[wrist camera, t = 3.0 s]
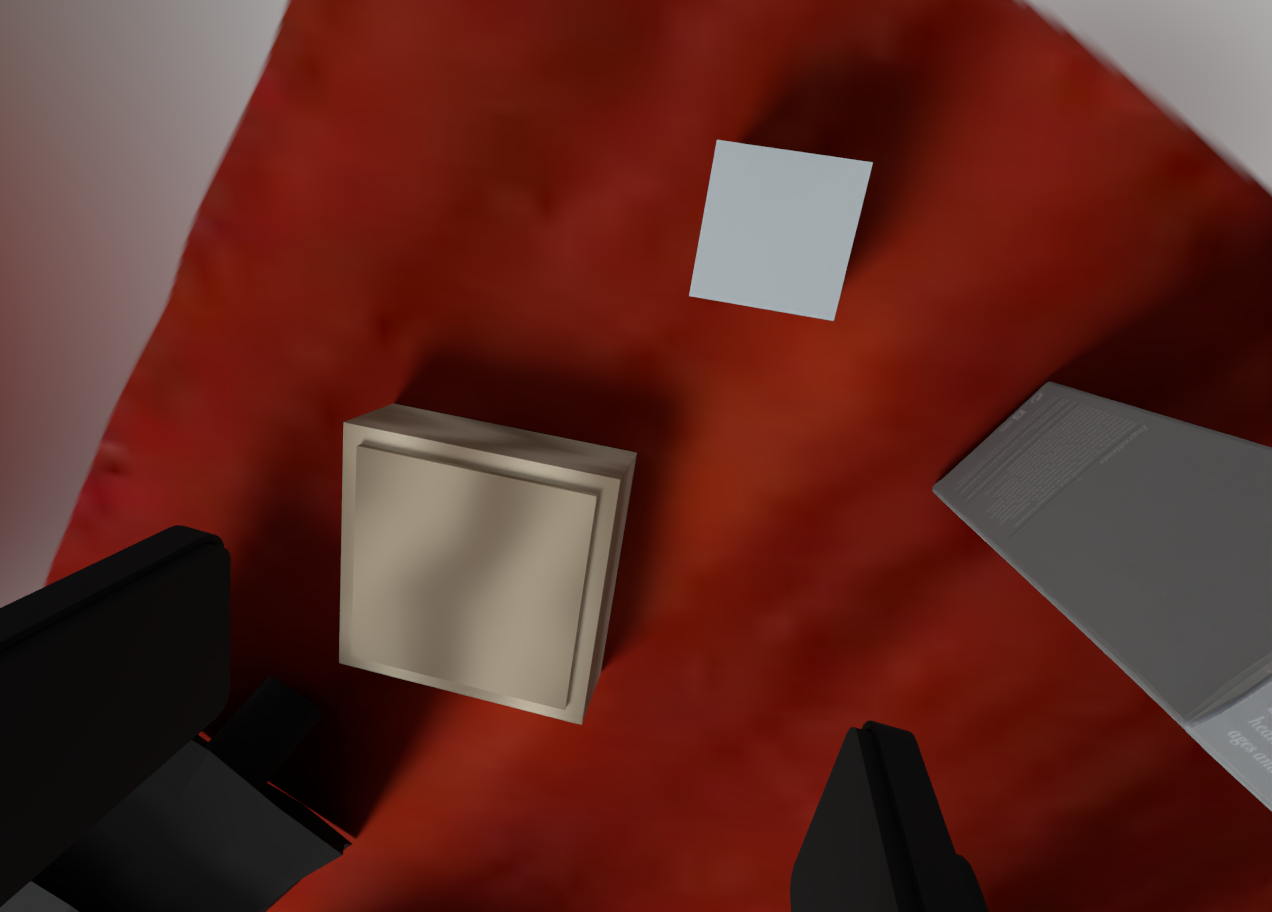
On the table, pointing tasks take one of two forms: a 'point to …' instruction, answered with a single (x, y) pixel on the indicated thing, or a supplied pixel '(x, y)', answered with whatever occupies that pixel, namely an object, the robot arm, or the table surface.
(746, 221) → the block
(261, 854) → the decorative tree
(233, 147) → the table surface
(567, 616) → the plinth
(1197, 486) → the skincare box
